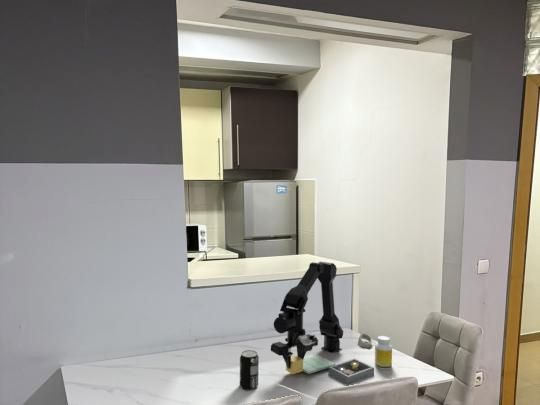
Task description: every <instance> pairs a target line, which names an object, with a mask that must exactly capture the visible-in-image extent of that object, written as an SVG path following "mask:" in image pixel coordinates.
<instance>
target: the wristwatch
mask: <svg viewBox="0 0 540 405" xmlns="http://www.w3.org/2000/svg"><path fill="white" fill-rule="evenodd" d="M362 339H363V340H362ZM364 340H366V341H368V342H366V341H364ZM372 342H373V339H372V337H371V336H370V335H369V334H367V333H363V332H361V333H360V334H359V337H358V342H357V345H358V346H360V347H361V348H363V349H369V348H371V346H372ZM368 347H369V348H368Z"/></svg>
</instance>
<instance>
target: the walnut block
mask: <svg viewBox="0 0 540 405" xmlns="http://www.w3.org/2000/svg"><path fill="white" fill-rule="evenodd" d="M343 373H344V374H346V375H351V374H354V372H353V371H350V370H346V371H344V372H343Z"/></svg>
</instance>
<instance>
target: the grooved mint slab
mask: <svg viewBox="0 0 540 405" xmlns="http://www.w3.org/2000/svg"><path fill="white" fill-rule="evenodd" d="M333 365H336V362H333V361H330V360H329V359H327V358H325V357H322V356H321V355H319V354H317V355H316V354H315V355H313V356H310V357H306V358H304V359H302V358H300V357H298V356H297V355H295V356H291V366H290V369H288V368H287V365H286V364H285V371H287V372H288V373H289V374H291V375H294V374H299V373H301V372H304V373H306V374H307V375H310V374H313V373H315V372H320V371H323V370H326V369H329V367H330V366H333Z"/></svg>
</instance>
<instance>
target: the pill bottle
mask: <svg viewBox="0 0 540 405" xmlns="http://www.w3.org/2000/svg"><path fill="white" fill-rule="evenodd" d="M390 341H391V338H390V337H388V336H386V335H379V336H377V342H376V343H375V345H374V365H375V367H376V368H378V369H379V370H390V369H391V368H392V364H393V360H392V359H393V346H392V344H390Z"/></svg>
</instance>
